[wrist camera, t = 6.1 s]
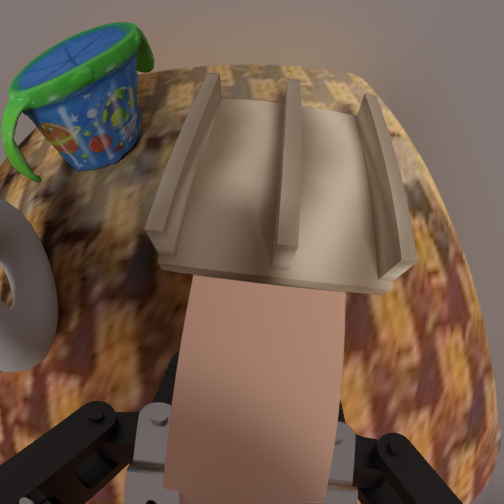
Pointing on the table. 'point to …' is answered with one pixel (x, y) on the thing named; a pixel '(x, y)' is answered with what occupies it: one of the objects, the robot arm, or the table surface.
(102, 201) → the table surface
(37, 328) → the grey ring
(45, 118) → the snack cup
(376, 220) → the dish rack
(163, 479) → the robot arm
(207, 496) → the pink rectangular block
